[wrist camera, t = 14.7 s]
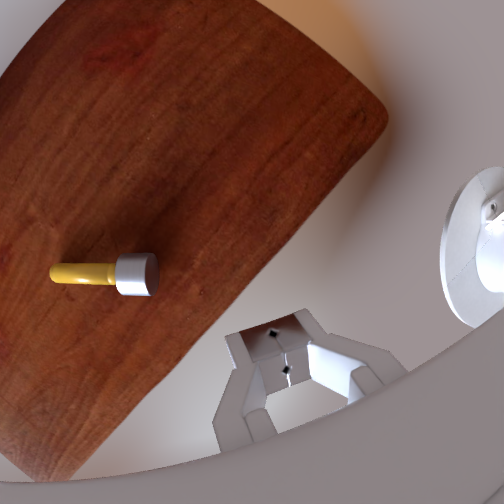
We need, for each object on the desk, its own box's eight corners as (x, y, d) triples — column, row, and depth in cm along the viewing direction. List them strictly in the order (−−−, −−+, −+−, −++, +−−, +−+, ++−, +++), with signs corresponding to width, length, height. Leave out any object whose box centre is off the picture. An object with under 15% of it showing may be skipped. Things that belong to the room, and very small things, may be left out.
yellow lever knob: (148, 245, 33) (46, 247, 34) (142, 286, 31) (36, 282, 31) (161, 264, 37) (64, 264, 38) (156, 301, 35) (57, 296, 36)
